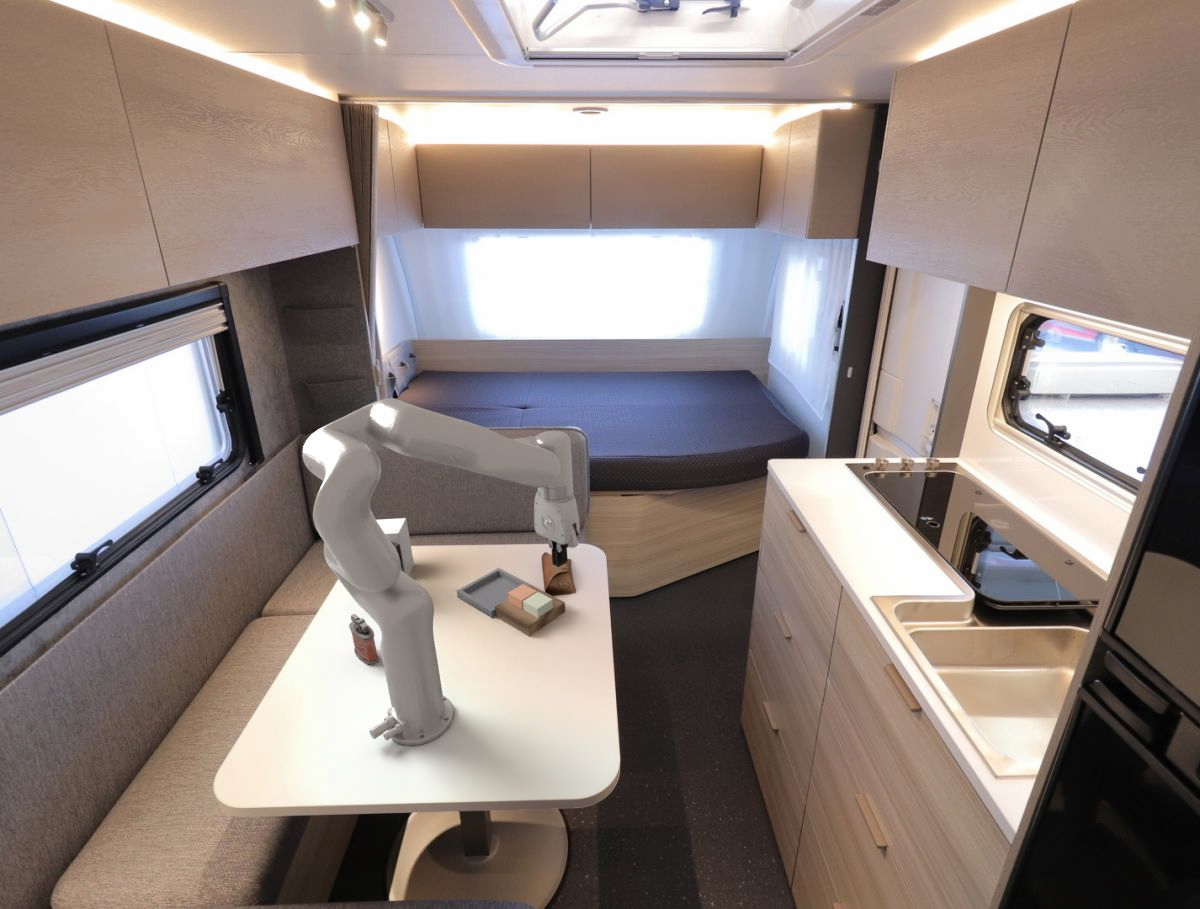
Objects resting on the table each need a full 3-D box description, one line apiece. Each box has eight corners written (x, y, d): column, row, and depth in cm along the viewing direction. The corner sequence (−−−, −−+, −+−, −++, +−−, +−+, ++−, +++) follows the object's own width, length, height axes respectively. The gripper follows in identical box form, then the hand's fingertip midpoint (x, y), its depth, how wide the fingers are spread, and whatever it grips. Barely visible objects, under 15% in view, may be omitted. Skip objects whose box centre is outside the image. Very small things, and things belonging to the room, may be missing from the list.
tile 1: (522, 609, 149) (521, 600, 148) (508, 601, 152) (507, 592, 151) (537, 599, 152) (536, 591, 151) (523, 592, 155) (522, 583, 154)
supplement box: (415, 563, 175) (407, 517, 170) (407, 581, 167) (399, 532, 162) (382, 565, 175) (374, 518, 170) (373, 583, 167) (364, 534, 161)
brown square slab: (529, 636, 144) (528, 625, 143) (496, 616, 151) (495, 606, 150) (565, 612, 152) (564, 602, 151) (532, 594, 159) (531, 584, 158)
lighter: (382, 660, 137) (375, 623, 134) (368, 668, 135) (360, 630, 132) (365, 644, 143) (357, 608, 139) (351, 652, 140) (343, 615, 137)
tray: (492, 618, 151) (491, 611, 150) (457, 597, 159) (456, 590, 159) (534, 592, 160) (533, 586, 160) (499, 574, 169) (498, 567, 168)
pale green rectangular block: (537, 617, 145) (537, 609, 144) (523, 609, 148) (522, 601, 147) (552, 608, 149) (552, 599, 148) (538, 600, 152) (538, 591, 151)
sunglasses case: (578, 593, 159) (564, 575, 157) (555, 607, 160) (541, 590, 157) (571, 557, 176) (557, 541, 173) (550, 570, 176) (537, 554, 174)
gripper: (518, 485, 133) (525, 559, 140) (568, 504, 123) (572, 582, 130) (543, 474, 138) (548, 546, 145) (593, 492, 129) (596, 567, 135)
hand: (560, 563), depth 137 cm, fingers closed
